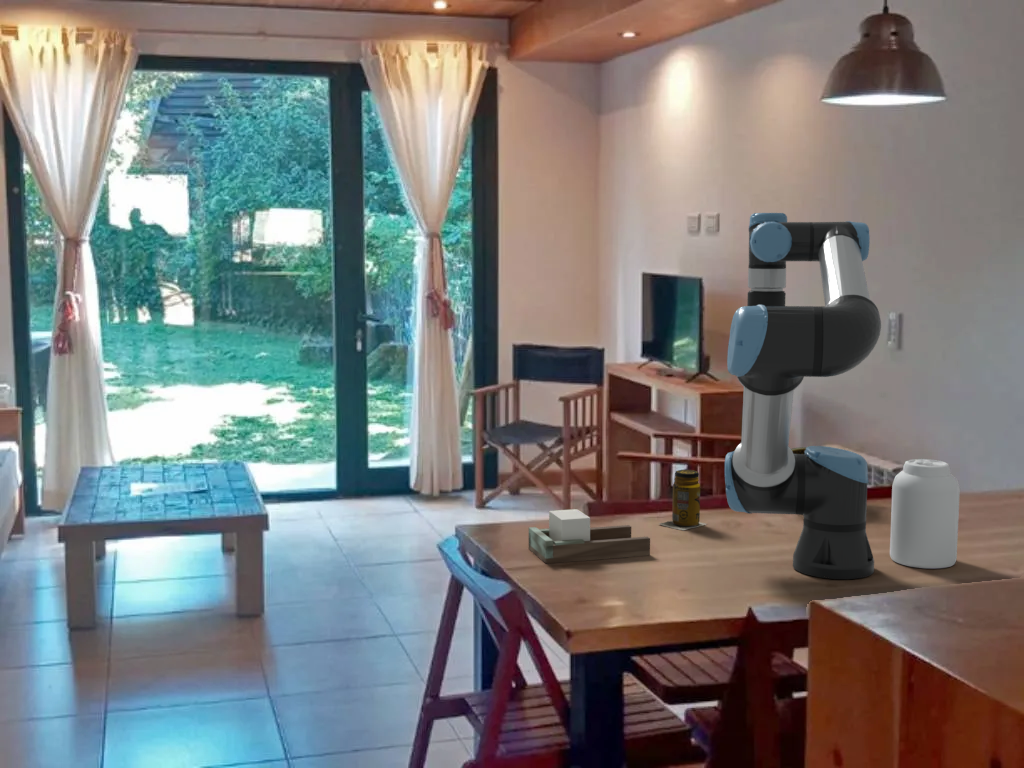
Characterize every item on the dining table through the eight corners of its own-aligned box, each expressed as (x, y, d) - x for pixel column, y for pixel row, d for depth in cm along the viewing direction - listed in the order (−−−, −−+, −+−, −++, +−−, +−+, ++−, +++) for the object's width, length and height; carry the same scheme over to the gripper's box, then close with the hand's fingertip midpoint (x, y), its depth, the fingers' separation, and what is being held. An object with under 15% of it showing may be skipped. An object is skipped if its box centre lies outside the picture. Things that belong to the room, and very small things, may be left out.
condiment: (707, 524, 266) (708, 471, 265) (684, 531, 261) (684, 477, 259) (681, 519, 272) (682, 467, 270) (657, 525, 266) (658, 472, 264)
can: (876, 556, 240) (879, 458, 237) (927, 550, 244) (931, 454, 242) (918, 572, 228) (922, 469, 226) (970, 566, 232) (975, 465, 230)
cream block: (589, 552, 239) (590, 517, 238) (561, 554, 237) (561, 519, 236) (576, 542, 246) (576, 509, 246) (549, 544, 245) (549, 510, 244)
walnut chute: (649, 555, 241) (650, 533, 240) (545, 563, 235) (545, 541, 234) (628, 541, 252) (628, 520, 251) (528, 548, 246) (528, 527, 245)
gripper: (786, 288, 247) (783, 401, 250) (728, 289, 244) (726, 404, 246) (804, 290, 240) (801, 406, 243) (746, 290, 236) (743, 409, 239)
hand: (763, 405), depth 245 cm, fingers closed
